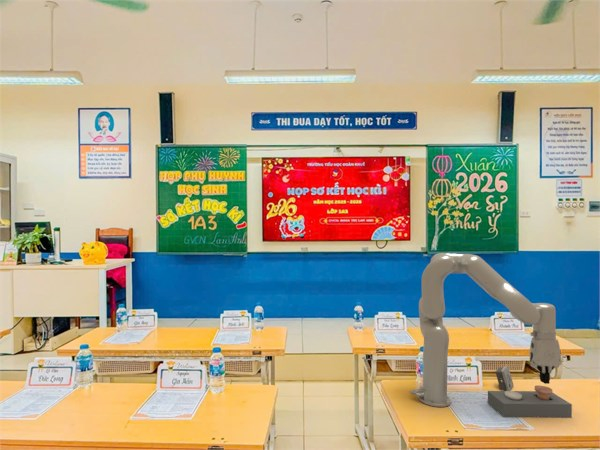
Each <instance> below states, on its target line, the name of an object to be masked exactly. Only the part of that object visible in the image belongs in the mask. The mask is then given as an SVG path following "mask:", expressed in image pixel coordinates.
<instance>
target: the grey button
mask: <svg viewBox="0 0 600 450" xmlns="http://www.w3.org/2000/svg"><path fill="white" fill-rule="evenodd" d="M504 391H505V396H506V397H507V398H509V399H510V400H520V399H522V395H521V394H520V393H518V392H514V391H515V390H511V391H507V390H504Z"/></svg>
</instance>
